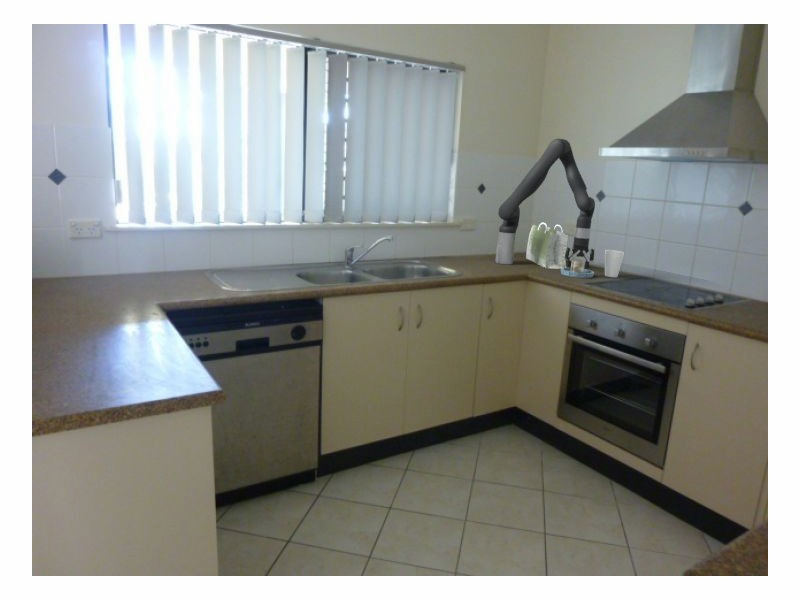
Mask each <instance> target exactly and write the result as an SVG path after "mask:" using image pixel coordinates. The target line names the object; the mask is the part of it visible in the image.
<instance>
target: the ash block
mask: <svg viewBox="0 0 800 600" xmlns="http://www.w3.org/2000/svg"><path fill="white" fill-rule="evenodd" d="M571 261H572V263H571V272H576V273H583V272H584V269H585V262H586V261H585V262H584V261H583V260H573V259H572V260H571Z"/></svg>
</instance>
